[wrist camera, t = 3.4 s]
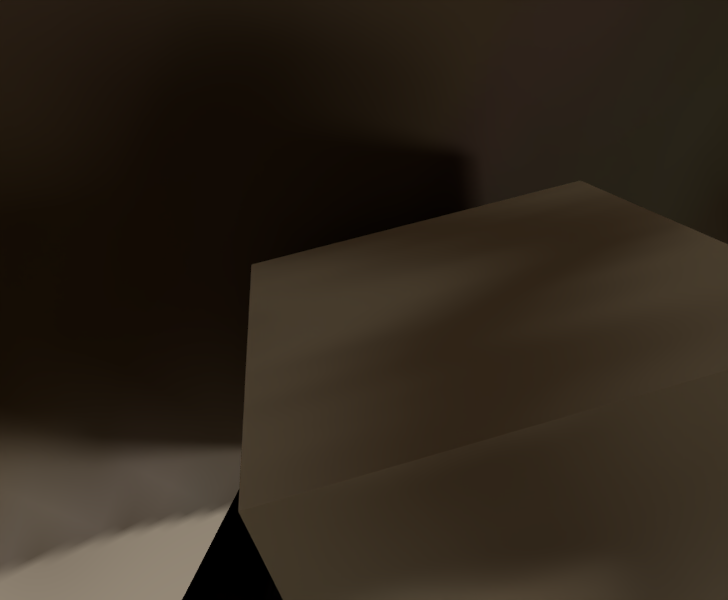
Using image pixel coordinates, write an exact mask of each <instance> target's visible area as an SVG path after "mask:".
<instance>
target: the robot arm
mask: <svg viewBox="0 0 728 600" xmlns="http://www.w3.org/2000/svg"><path fill="white" fill-rule="evenodd" d="M238 507H239V490H238V492H237V494H236V496H235V498H234V500H233V502H232V504H231V506H230V508H229V510H228V512H227V514H226V516H225V518H224V520H223V521H222V523H221V525H220V527H219V529H218V531H217V533H216V535H215V537H214V539H213V541H212V543H211V545H210V547H209V549H208V551H207V553H206V555H205V557H204V559H203V560H202V562H201V564H200V566H199V568H198V570H197V572H196V574H195V576H194V578H193V580H192V582H191V584H190V586H189V587H188V589H187V591H186V594H185V595H184V597H183V599H182V600H283V599H282V597H281V595H280V593H279V591H278V589H277V587H276V585H275V583H274V581H273V579H272V577H271V575H270V573H269V571H268V569H267V567H266V565H265V563H264V561H263V559H262V557H261V555H260V553H259V551H258V549H257V547H256V546H255V544H254V542H253V540H252V538H251V536H250V534H249V532H248V530H247V528H246V526H245V524H244V522H243V520H242V518H241V516H240V514H239V512H238Z"/></svg>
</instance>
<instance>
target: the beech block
mask: <svg viewBox="0 0 728 600" xmlns="http://www.w3.org/2000/svg"><path fill="white" fill-rule="evenodd" d="M238 512H239V514H240V516H241V518H242V520H243V522H244V524H245V526H246V528H247V530H248V532H249V534H250V536H251V538H252V540H253V542H254V544H255V546H256V547H257V549H258V551H259V553H260V555H261V557H262V559H263V561H264V563H265V565H266V567H267V569H268V571H269V573H270V575H271V577H272V579H273V581H274V583H275V585H276V587H277V589H278V591H279V593H280V595H281V597H282V599H283V600H728V244H725V243H723V242H721V241H719V240H716V239H714V238H712V237H709V236H707V235H705V234H702V233H700V232H698V231H695V230H693V229H691V228H689V227H686V226H684V225H682V224H679V223H677V222H675V221H672V220H670V219H668V218H665V217H663V216H661V215H659V214H656V213H654V212H652V211H649V210H647V209H645V208H642V207H640V206H638V205H635V204H633V203H631V202H629V201H626V200H624V199H622V198H619V197H617V196H615V195H612V194H610V193H608V192H605V191H603V190H601V189H599V188H596V187H594V186H592V185H589V184H587V183H585V182H582V181H576V182H573V183H569V184H565V185H561V186H557V187H553V188H549V189H545V190H541V191H537V192H533V193H530V194H526V195H522V196H518V197H514V198H510V199H506V200H502V201H498V202H494V203H490V204H486V205H483V206H479V207H475V208H471V209H467V210H463V211H459V212H455V213H451V214H447V215H443V216H440V217H436V218H432V219H428V220H424V221H420V222H416V223H412V224H408V225H404V226H400V227H396V228H393V229H389V230H385V231H381V232H377V233H373V234H369V235H365V236H361V237H357V238H353V239H350V240H346V241H342V242H338V243H334V244H330V245H326V246H322V247H318V248H314V249H310V250H306V251H303V252H299V253H295V254H291V255H287V256H283V257H279V258H275V259H271V260H267V261H263V262H260V263H256V264H252V265H251V283H250V301H249V320H248V339H247V357H246V376H245V395H244V414H243V432H242V451H241V470H240V488H239V507H238Z"/></svg>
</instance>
